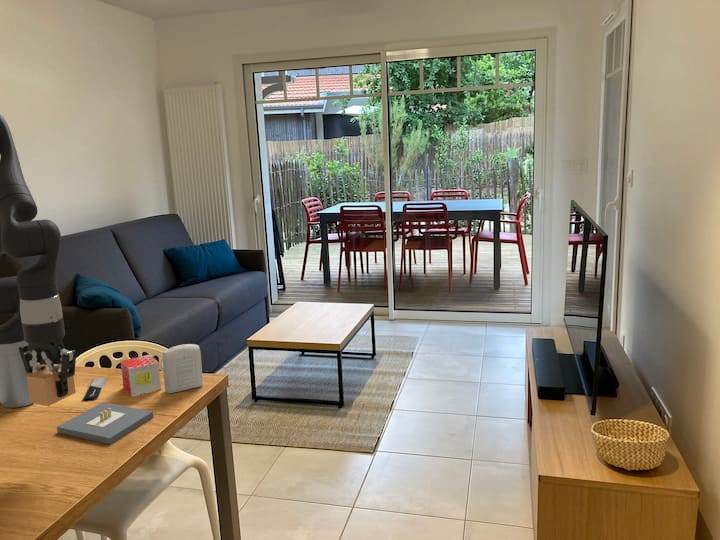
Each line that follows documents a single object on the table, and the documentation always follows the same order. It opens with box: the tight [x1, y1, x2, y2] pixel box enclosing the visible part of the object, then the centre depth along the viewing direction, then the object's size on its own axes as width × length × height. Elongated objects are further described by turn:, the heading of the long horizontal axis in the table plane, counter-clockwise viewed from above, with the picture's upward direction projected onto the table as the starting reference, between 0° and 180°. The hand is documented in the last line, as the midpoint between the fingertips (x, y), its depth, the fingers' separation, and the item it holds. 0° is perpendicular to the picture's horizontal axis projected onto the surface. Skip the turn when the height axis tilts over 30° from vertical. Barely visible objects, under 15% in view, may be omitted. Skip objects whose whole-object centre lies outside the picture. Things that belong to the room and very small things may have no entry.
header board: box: [56, 401, 154, 445], centre depth 140 cm, size 16×14×4 cm
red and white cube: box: [120, 354, 162, 398], centre depth 160 cm, size 8×8×8 cm
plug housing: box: [27, 363, 76, 407], centre depth 124 cm, size 5×7×6 cm
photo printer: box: [162, 343, 204, 394], centre depth 160 cm, size 10×4×12 cm, turn 123°
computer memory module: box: [81, 377, 107, 403], centre depth 161 cm, size 15×1×4 cm
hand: (53, 393), depth 125 cm, fingers closed on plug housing, 5 cm apart
